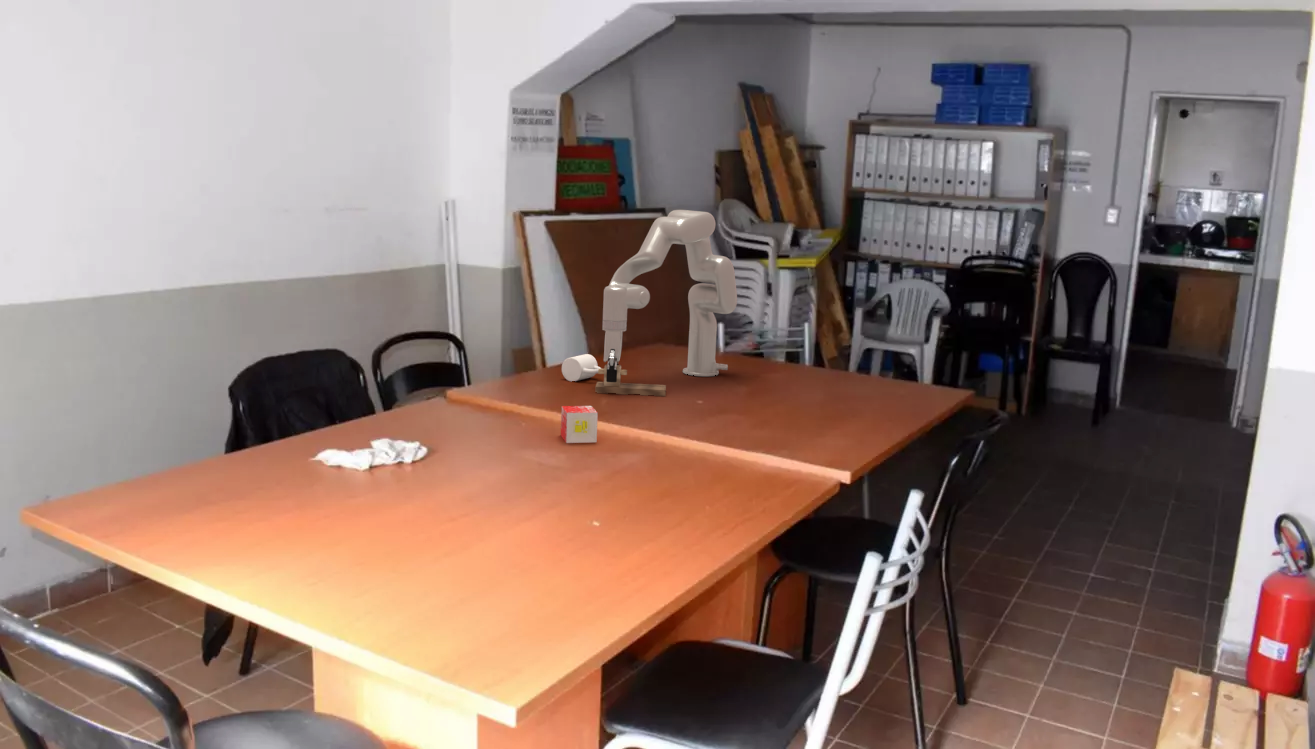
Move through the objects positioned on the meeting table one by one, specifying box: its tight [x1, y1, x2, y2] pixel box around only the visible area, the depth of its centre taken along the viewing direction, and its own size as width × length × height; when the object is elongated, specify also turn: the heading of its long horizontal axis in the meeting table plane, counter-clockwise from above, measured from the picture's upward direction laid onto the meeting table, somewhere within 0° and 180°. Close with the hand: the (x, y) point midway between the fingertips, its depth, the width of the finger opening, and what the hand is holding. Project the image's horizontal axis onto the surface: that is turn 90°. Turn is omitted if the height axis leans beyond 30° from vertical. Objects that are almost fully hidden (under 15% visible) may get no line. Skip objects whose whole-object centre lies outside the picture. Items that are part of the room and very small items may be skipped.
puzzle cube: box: [560, 405, 599, 444], centre depth 280 cm, size 8×8×8 cm
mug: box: [561, 353, 602, 382], centre depth 358 cm, size 12×10×8 cm
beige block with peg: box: [597, 363, 628, 387], centre depth 342 cm, size 9×4×7 cm, turn 89°
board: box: [594, 381, 667, 397], centre depth 343 cm, size 22×8×2 cm, turn 89°
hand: (612, 379), depth 342 cm, fingers open, 9 cm apart
